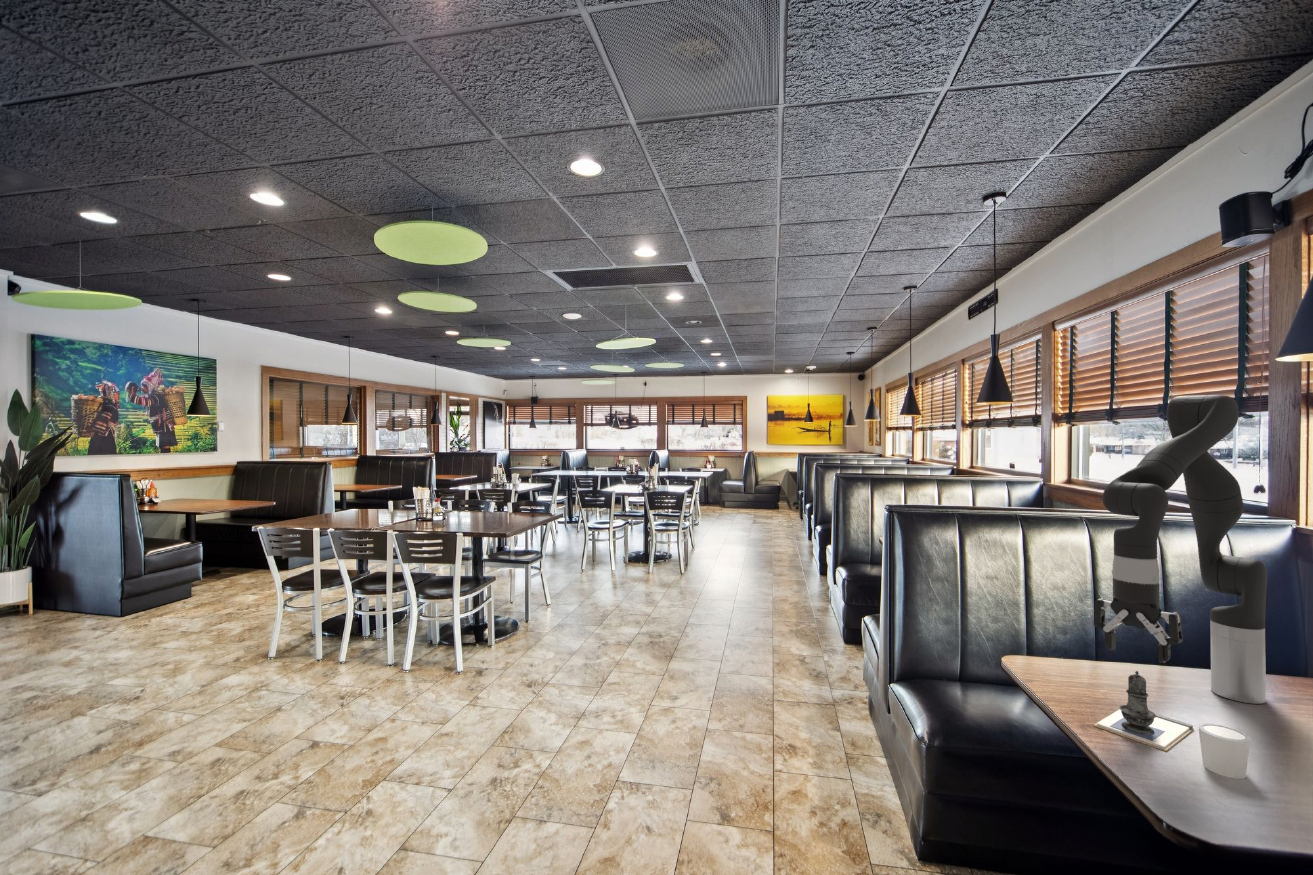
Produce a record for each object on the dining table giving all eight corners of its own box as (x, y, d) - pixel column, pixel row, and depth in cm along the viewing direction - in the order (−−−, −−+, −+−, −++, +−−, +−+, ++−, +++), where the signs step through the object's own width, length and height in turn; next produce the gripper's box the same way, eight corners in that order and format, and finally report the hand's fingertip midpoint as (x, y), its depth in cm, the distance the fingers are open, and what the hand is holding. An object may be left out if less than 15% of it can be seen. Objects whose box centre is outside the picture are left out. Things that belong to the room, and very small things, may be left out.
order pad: (1124, 707, 130) (1124, 703, 130) (1194, 730, 120) (1194, 725, 120) (1093, 726, 122) (1093, 721, 122) (1166, 751, 112) (1166, 746, 112)
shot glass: (1242, 784, 101) (1241, 744, 101) (1191, 765, 107) (1191, 727, 107) (1257, 774, 104) (1257, 735, 104) (1207, 756, 110) (1207, 719, 110)
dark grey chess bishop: (1163, 736, 116) (1162, 677, 116) (1130, 734, 117) (1129, 675, 117) (1144, 723, 121) (1144, 666, 122) (1113, 720, 123) (1112, 664, 123)
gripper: (1186, 582, 116) (1187, 662, 115) (1102, 569, 128) (1103, 642, 127) (1173, 587, 112) (1174, 670, 111) (1087, 573, 124) (1088, 648, 123)
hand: (1136, 655), depth 119 cm, fingers open, 8 cm apart
